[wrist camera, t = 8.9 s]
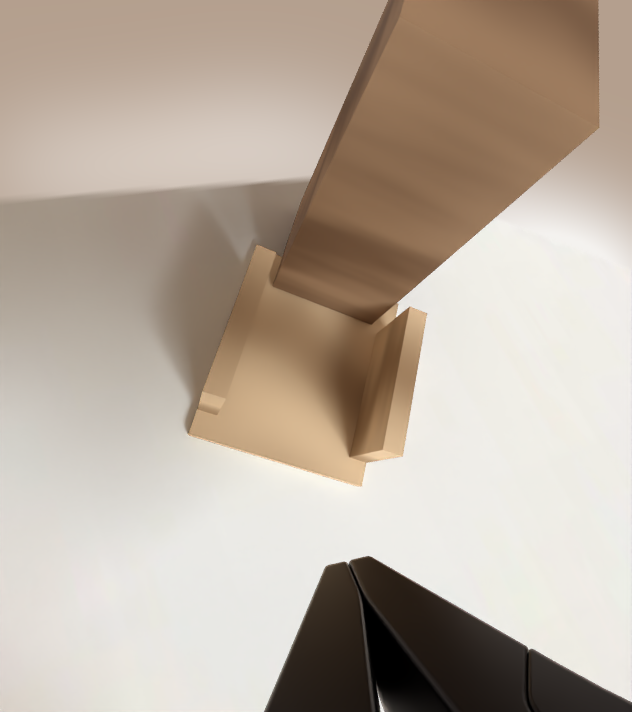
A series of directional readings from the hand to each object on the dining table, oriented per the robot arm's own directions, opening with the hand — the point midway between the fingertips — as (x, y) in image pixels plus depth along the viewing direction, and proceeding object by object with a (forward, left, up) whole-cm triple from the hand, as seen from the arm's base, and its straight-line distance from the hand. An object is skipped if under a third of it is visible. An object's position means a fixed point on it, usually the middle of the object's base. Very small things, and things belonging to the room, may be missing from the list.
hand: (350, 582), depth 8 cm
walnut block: (+12, +5, -10) cm, 16 cm away
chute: (+7, +3, -10) cm, 12 cm away
